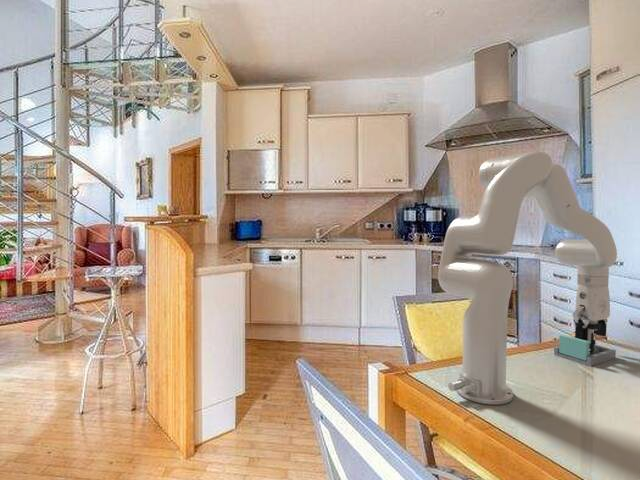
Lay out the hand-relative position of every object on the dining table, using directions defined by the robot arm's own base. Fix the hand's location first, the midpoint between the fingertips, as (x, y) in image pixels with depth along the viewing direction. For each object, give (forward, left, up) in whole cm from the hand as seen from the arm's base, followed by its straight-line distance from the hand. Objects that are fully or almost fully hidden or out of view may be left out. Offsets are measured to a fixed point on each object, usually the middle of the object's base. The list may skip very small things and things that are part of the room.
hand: (590, 337), depth 114 cm
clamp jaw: (-9, 0, -4) cm, 9 cm away
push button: (-1, 0, -4) cm, 5 cm away
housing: (-3, 0, -5) cm, 6 cm away
